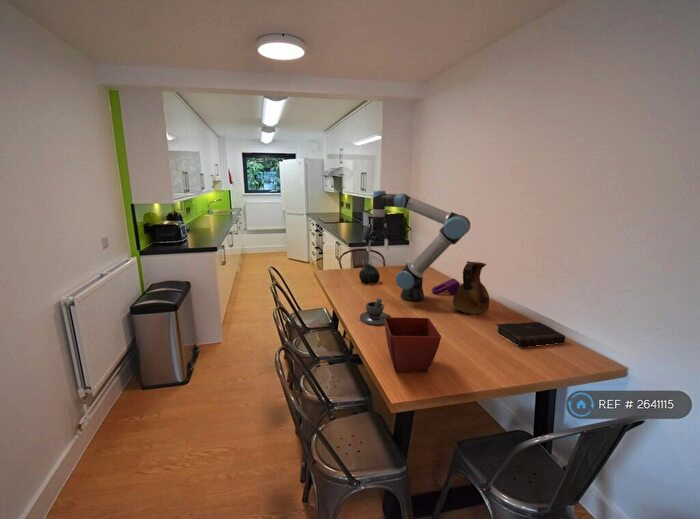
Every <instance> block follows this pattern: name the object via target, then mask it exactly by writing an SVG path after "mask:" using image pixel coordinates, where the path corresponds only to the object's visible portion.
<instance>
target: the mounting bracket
mask: <svg viewBox="0 0 700 519" xmlns="http://www.w3.org/2000/svg"><path fill="white" fill-rule="evenodd" d="M460 286H461V284H460V282H459V281H458V280H457V279H456V278H451V279H449V280H447V281H445V282H442V283H440V284H438V285H435V286H434V287H432V288H431V293H432V294H433V295H439V294H442V293H444V292H448V293H449V294H450V295H452V296H454V295H455V293H456V291H457V290H458V288H459V287H460Z"/></svg>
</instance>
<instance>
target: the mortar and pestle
mask: <svg viewBox="0 0 700 519" xmlns="http://www.w3.org/2000/svg"><path fill="white" fill-rule="evenodd" d="M382 302H383V299H382V298H381V297H378V298H377V299H376V301H369V302H367V303H365V309H366V310H365V312H368V313H369V317H370V318H372V319H378V318H380V314H381V313H382V312H383V311H384V308H385V304H384V303H382Z"/></svg>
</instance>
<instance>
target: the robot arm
mask: <svg viewBox="0 0 700 519" xmlns="http://www.w3.org/2000/svg"><path fill="white" fill-rule="evenodd" d="M387 207H388V208H404V209H406V210H409V211H411V212H413V213H416V214H418V215H420V216H423V217H424V218H428V219H429V220H432V221H435V222H437V223H439V224H442V225H443V226H442V227H441V228H440V229H439V230H438V232H439V234H438V235H437V236H436V237H435V238H434V239H433V240H432V241H431V243H430V244H429V245H428V246H427V247H426V248H425V249H424V250H423V251H422V252H421V253H420V255H418V256H417V257H416V258H415V260H413V262H405V265H404V267H403V269H401V270H399V272H397V274H396V276H395V283H396V285H397V287H398V288H399V289H402V291H401V293H400V299H401V298H402V300H403V299H404V300H403V301H407V302H414V303H415V302H416V303H417V302H422V301H424V300H425V293H424V289H423V283H424V282H423V280H424V279H423V278H424V273H425V271H427V269H428V268H430V266H432V264H433V263H434V262H436V260H437V259H439V257H440V256H441V255H443V253H444V252H445V251H446V250H447V249H448V248H449V247H450V246H451V245H456V244H457V243H458V242H459V241H460V240H461V239H462V238H463V237H464V236H466V235H467V234H468V232H470V229H471V221H470V219H469V218H468V217H466V216H465V215H461V214H458V213H456V212H453V211H450V212H449V211H445V210H444V209H441V208H438V207H436V206H433V205H431V204H430V203H426V202H424V201H422V200H418V199H417V198H413V197H411V196H409V194H405V193H386V190H374V191H373V192H372V218H371V221H372V224H367V228H366V231H365V233H364V235H363V238H362V239H363V241H365V246H366V252H371V239H372V238H373V236H374V235H375V233H376V232H377V233H379V232H381V233H382V235H383V236H384V248H383V249H384V250H385V251H388V250H389V244H390V240H391V239H392V238H393V236H392V234H391V230H390V228H389V223H385V222H386V221H385V219H386V218H385V216H386V208H387Z"/></svg>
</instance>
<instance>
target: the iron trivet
mask: <svg viewBox="0 0 700 519" xmlns="http://www.w3.org/2000/svg"><path fill="white" fill-rule="evenodd" d="M385 317H392V316H391V315H390V314H389V313H386V312H382V313H381V314H380V318H378V319H372V318H370V317H369V313H368V312H367V311H365V312H362V313H361V314H360V316H359V321H360V322H361V323H362V322H363V324H364V323H365V325H367V324H368V326H372V325H373V327H379V326H381V325H382V326H385V319H384V318H385Z"/></svg>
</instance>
